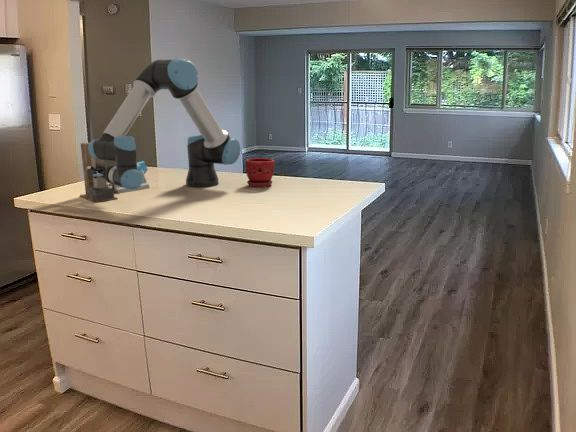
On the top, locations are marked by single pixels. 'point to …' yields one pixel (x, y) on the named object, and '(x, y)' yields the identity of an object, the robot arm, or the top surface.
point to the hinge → (122, 190)
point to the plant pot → (259, 172)
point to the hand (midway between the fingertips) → (93, 168)
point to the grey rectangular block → (99, 182)
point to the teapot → (142, 167)
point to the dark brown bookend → (89, 184)
